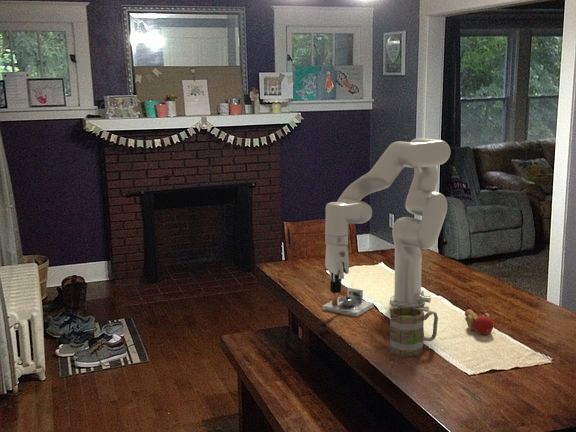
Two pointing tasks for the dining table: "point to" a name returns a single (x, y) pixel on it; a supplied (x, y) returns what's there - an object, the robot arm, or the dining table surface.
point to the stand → (353, 310)
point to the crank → (342, 301)
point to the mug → (409, 330)
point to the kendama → (479, 322)
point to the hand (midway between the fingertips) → (335, 292)
